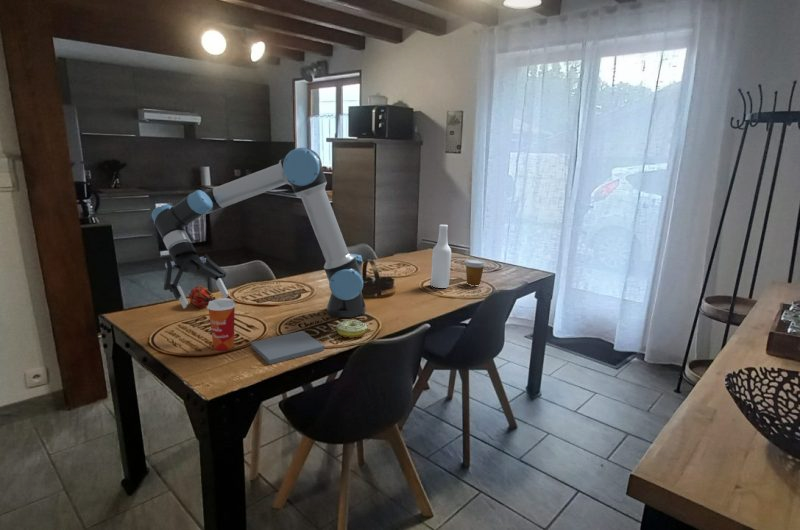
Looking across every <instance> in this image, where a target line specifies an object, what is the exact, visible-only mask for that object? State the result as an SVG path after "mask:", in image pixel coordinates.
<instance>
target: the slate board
mask: <svg viewBox="0 0 800 530" xmlns="http://www.w3.org/2000/svg"><path fill="white" fill-rule="evenodd" d="M250 347H251V348H252V349H253V350H254V351H255V352H256V353H257V354H258V355H259V356H260V357H261V358H262V359H263V360H264V361H265V362H266V363H267V364H268V365H273V364H274V365H275V364H278V363H281V362H285V361H288V360H292V359H296V358H300V357H304V356H309V355H312V354H315V353H319V352H323V351H325V345H323V344H322V343H320V342H319V341H318V340H317V339H315V338H314V337H312V336H311V335H309V333H306V332H305V331H304V330H300V331H296V332H291V333H286V334H282V335H278V336H273V337H268V338H264V339H260V340H255V341H250Z"/></svg>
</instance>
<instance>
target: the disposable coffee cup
mask: <svg viewBox="0 0 800 530" xmlns="http://www.w3.org/2000/svg"><path fill="white" fill-rule="evenodd" d="M464 264H465V269H466V273H465V274H466V275H465V276H466V284H467V283H468V284H471V285H479V284H480V285H481V281H482V276H483V271H484V267H485V266H486V264H485V261H484V260H483V259H482V260H481V259H476V258H475V259H474V258H472V259H471V258H470V259H466V261H465V263H464Z"/></svg>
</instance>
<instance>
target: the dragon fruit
mask: <svg viewBox="0 0 800 530" xmlns="http://www.w3.org/2000/svg"><path fill="white" fill-rule="evenodd" d="M188 299H189V303H190V305H191V306H196V307H198V308H199V309H205V307H204V306H208V303H209V302H210V301H212V300H215V299H216V296H214V295H213V294H212V292H211V291H210V290H209V288H208V287H204V286H202V285H197V286H195V287H193V288H192V289H191V291H190V293H189V294H188Z"/></svg>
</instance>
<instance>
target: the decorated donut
mask: <svg viewBox="0 0 800 530" xmlns="http://www.w3.org/2000/svg"><path fill="white" fill-rule="evenodd" d="M335 326H336V327H335V328H336V329H335V330H336V332H337V334H338V335H339V336H341V337H342V336H343V338H346V337H349V338H348V339H355V338H354V337H356V338H360V337H362V336H364V335H365V333H366V331H367V330H368V326H367V324H366V323H364V322H363V321H360V320H357V319H349V320H343V321H341V322H338V324H337V325H335Z"/></svg>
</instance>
